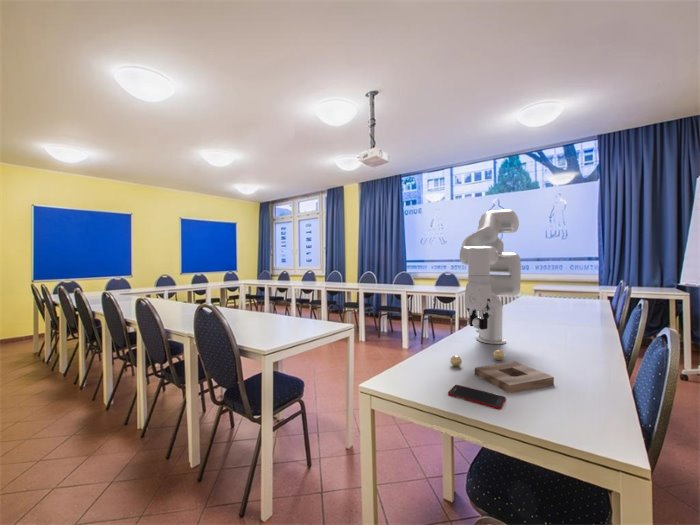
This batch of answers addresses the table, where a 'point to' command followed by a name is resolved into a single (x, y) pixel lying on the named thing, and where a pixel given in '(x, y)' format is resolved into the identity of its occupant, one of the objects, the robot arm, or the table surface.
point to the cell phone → (477, 396)
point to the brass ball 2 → (498, 355)
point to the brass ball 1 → (456, 361)
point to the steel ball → (476, 322)
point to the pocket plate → (522, 381)
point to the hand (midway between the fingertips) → (478, 326)
